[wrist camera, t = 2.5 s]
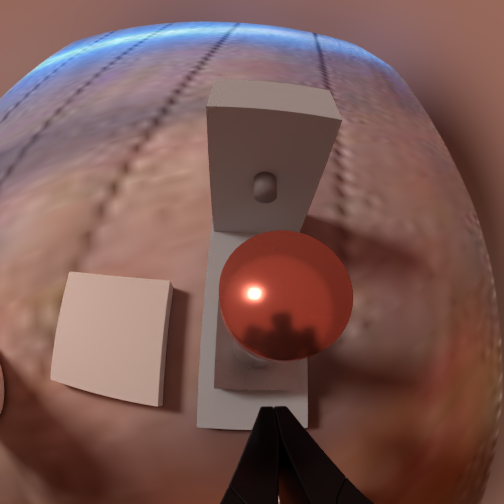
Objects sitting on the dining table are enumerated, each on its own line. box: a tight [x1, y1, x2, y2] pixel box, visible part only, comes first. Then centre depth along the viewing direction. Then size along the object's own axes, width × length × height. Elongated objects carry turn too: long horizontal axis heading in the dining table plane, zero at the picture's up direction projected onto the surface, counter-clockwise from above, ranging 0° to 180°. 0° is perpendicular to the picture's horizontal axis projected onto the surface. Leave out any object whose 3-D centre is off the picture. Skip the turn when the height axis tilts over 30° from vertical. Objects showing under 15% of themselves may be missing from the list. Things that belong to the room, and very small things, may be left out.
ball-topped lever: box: [214, 230, 353, 390], centre depth 11 cm, size 5×4×10 cm
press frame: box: [50, 79, 342, 430], centre depth 13 cm, size 16×17×11 cm
